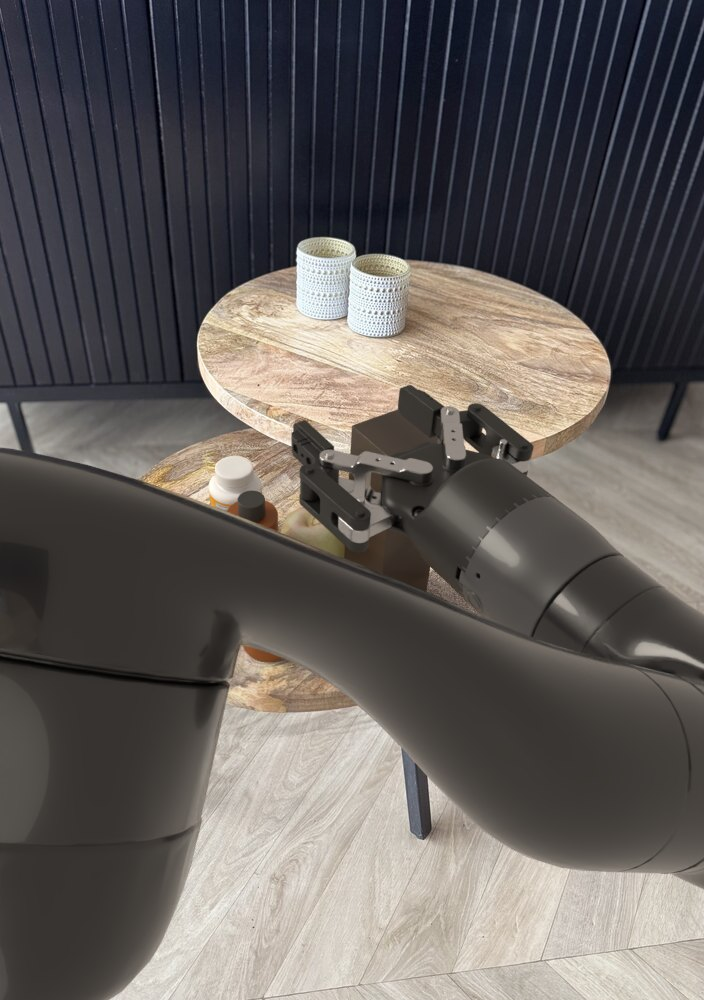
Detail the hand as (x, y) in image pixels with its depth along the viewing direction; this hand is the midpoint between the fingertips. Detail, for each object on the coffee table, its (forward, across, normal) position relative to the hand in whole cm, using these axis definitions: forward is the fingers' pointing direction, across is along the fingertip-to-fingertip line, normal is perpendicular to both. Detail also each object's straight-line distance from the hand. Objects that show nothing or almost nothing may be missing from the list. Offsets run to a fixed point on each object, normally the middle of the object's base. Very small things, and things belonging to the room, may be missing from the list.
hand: (351, 414), depth 54 cm
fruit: (+15, -8, +31) cm, 36 cm away
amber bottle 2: (+9, +2, +31) cm, 32 cm away
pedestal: (+6, -10, +31) cm, 33 cm away
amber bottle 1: (+16, 0, +31) cm, 35 cm away
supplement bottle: (+23, -2, +31) cm, 39 cm away
